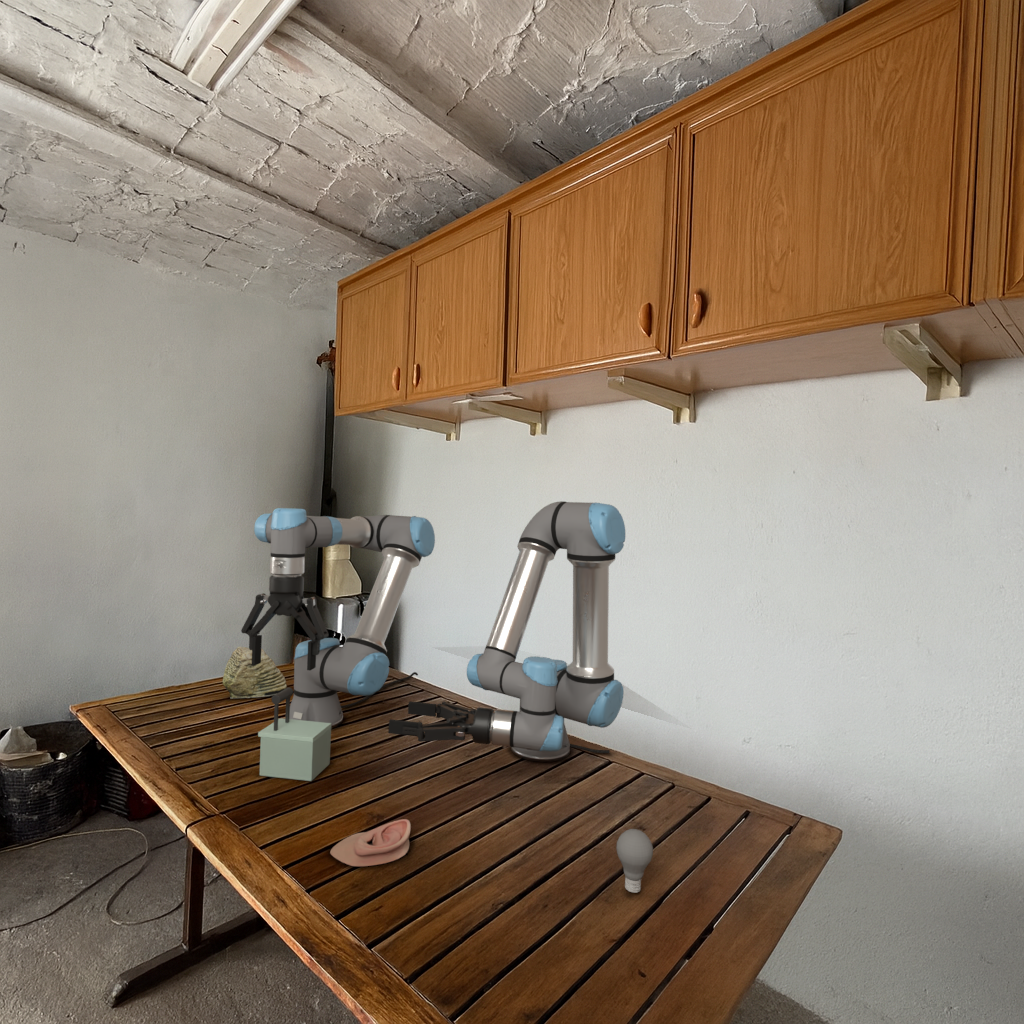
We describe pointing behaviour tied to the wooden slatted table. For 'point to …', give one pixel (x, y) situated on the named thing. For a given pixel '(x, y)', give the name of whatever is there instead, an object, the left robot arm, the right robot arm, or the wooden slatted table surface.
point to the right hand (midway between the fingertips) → (399, 716)
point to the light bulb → (634, 857)
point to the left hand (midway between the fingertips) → (283, 666)
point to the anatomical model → (374, 845)
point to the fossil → (252, 675)
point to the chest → (294, 757)
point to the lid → (292, 723)
